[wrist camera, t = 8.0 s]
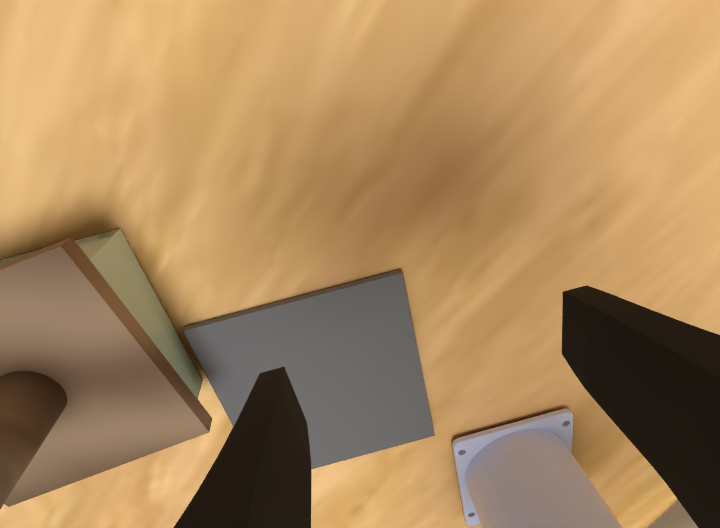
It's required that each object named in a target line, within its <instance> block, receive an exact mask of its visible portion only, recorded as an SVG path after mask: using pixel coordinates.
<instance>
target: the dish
mask: <svg viewBox="0 0 720 528" xmlns="http://www.w3.org/2000/svg"><path fill="white" fill-rule="evenodd" d="M75 241H76V243H77V244H78V245H79V247H80V248H81V249H82V250H83V252H84V253H85V254H86V256H87V257H88V258H89V260H90V261H91V262H92V263H93V265H94V266H95V267H96V269H97V270H98V271H99V272H100V274H101V275H102V276H103V278H104V279H105V280H106V282H107V283H108V284H109V285H110V287H111V288H112V289H113V291H114V292H115V293H116V294H117V296H118V297H119V298H120V300H121V301H122V302H123V304H124V305H125V306H126V307H127V309H128V310H129V311H130V313H131V314H132V315H133V317H134V318H135V319H136V320H137V322H138V323H139V324H140V326H141V327H142V328H143V329H144V331H145V332H146V333H147V335H148V336H149V337H150V339H151V340H152V341H153V342H154V344H155V345H156V346H157V348H158V349H159V350H160V351H161V353H162V354H163V355H164V357H165V358H166V359H167V361H168V362H169V363H170V364H171V366H172V367H173V368H174V370H175V371H176V372H177V373H178V375H179V376H180V377H181V379H182V380H183V381H184V383H185V384H186V385H187V386H188V388H189V389H190V390H191V392H192V393H193V394H194V396H195V397H196V398H197V399H198V395H199V392H200V388H201V385H202V381H203V380H202V378H201V377H200V375H199V373H198V371H197V369H196V367H195V366H194V364H193V362H192V360H191V358H190V356H189V354H188V353H187V351H186V349H185V347H184V345H183V343H182V342H181V340H180V338H179V336H178V334H177V332H176V330H175V329H174V327H173V325H172V323H171V321H170V319H169V318H168V316H167V314H166V312H165V310H164V308H163V307H162V305H161V303H160V301H159V299H158V297H157V295H156V294H155V292H154V290H153V288H152V286H151V284H150V283H149V281H148V279H147V277H146V275H145V273H144V271H143V270H142V268H141V266H140V264H139V262H138V260H137V259H136V257H135V255H134V253H133V251H132V249H131V248H130V246H129V244H128V242H127V240H126V238H125V236H124V235H123V233H122V231H121V229H117V230H113V231H109V232H105V233H101V234H97V235H94V236H90V237H86V238H82V239H78V240H75ZM39 250H40V249H39ZM36 251H37V250H36ZM32 252H35V251H32ZM32 252H28V253H24V254H20V255H16V256H12V257H9V258H5V259H1V260H0V265H2V264H4V263H7V262H9V261H12V260H14V259H17V258H19V257H22V256H24V255H27V254H30V253H32Z"/></svg>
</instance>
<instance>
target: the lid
mask: <svg viewBox="0 0 720 528" xmlns="http://www.w3.org/2000/svg"><path fill="white" fill-rule="evenodd" d="M211 422H212V418H211V416H210V415H209V414H208V412H207V411H206V410H205V408H204V407H203V406H202V405H201V403H200V402H199V401H198V399H197V398H196V397H195V396H194V394H193V393H192V392H191V390H190V389H189V388H188V386H187V385H186V384H185V383H184V381H183V380H182V379H181V377H180V376H179V375H178V373H177V372H176V371H175V370H174V368H173V367H172V366H171V364H170V363H169V362H168V361H167V359H166V358H165V357H164V355H163V354H162V353H161V351H160V350H159V349H158V348H157V346H156V345H155V344H154V342H153V341H152V340H151V339H150V337H149V336H148V335H147V333H146V332H145V331H144V329H143V328H142V327H141V326H140V324H139V323H138V322H137V320H136V319H135V318H134V317H133V315H132V314H131V313H130V311H129V310H128V309H127V307H126V306H125V305H124V304H123V302H122V301H121V300H120V298H119V297H118V296H117V294H116V293H115V292H114V291H113V289H112V288H111V287H110V285H109V284H108V283H107V282H106V280H105V279H104V278H103V276H102V275H101V274H100V272H99V271H98V270H97V269H96V267H95V266H94V265H93V263H92V262H91V261H90V260H89V258H88V257H87V256H86V254H85V253H84V252H83V250H82V249H81V248H80V247H79V245H78V244H77V243H76V241H75V240H74V239H73V237H70V238H67V239H65V240H62V241H60V242H57V243H55V244H52V245H50V246H47V247H45V248H42V249H40V250H37V251H35V252H32V253H30V254H27V255H24V256H22V257H19V258H17V259H14V260H12V261H9V262H7V263H4V264H2V265H0V509H1V507H2V506H3V504H5V505H7V506H8V507H9V506H12V505H15V504H18V503H20V502H23V501H26V500H28V499H31V498H34V497H36V496H39V495H42V494H44V493H47V492H50V491H52V490H55V489H58V488H61V487H63V486H66V485H69V484H71V483H74V482H77V481H79V480H82V479H85V478H87V477H90V476H93V475H96V474H98V473H101V472H104V471H106V470H109V469H112V468H114V467H117V466H120V465H122V464H125V463H128V462H130V461H133V460H136V459H139V458H141V457H144V456H147V455H149V454H152V453H155V452H157V451H160V450H163V449H165V448H168V447H171V446H174V445H176V444H179V443H182V442H184V441H187V440H190V439H192V438H195V437H198V436H200V435H203V434H206V433H208V432H209V431H210V426H211Z"/></svg>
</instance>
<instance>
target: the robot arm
mask: <svg viewBox="0 0 720 528" xmlns="http://www.w3.org/2000/svg"><path fill="white" fill-rule="evenodd" d="M562 355H563V356H564V358H565V359H566V361H567V362H568V364H569V365H570V367H571V369H572V370H573V372H574V373H575V375H576V376H577V378H578V379H579V380H580V382H581V383H582V385H583V386H584V388H585V389H586V390H587V391H588V392H589V394H590V395H591V396H592V397H593V398H594V400H595V401H596V402H597V403H598V404H599V405H600V407H601V408H602V409H603V410H604V411H605V412H606V414H607V415H608V416H609V417H610V418H611V419H612V420H613V422H614V423H615V424H616V425H617V426H618V427H619V428H620V430H621V431H622V432H623V433H624V434H625V435H626V436H627V438H628V439H629V440H630V441H631V442H632V443H633V444H634V446H635V447H636V448H637V449H638V450H639V451H640V453H641V454H642V455H643V456H644V457H645V458H646V459H647V461H648V462H649V463H650V464H651V465H652V466H653V468H654V469H655V470H656V471H657V473H658V474H659V475H660V476H661V477H662V479H663V480H664V481H665V482H666V484H667V485H668V486H669V488H670V489H671V490H672V492H673V493H674V495H675V496H676V497H677V499H678V500H679V501H680V503H681V504H682V506H683V507H684V508H685V510H686V511H687V512H688V514H689V515H690V517H691V518H692V519H693V521H694V522H695V523H696V525H697V526H698V528H720V335H718V334H715V333H712V332H709V331H706V330H703V329H701V328H698V327H695V326H692V325H689V324H687V323H684V322H681V321H679V320H676V319H673V318H671V317H668V316H665V315H663V314H660V313H658V312H655V311H652V310H650V309H647V308H645V307H642V306H640V305H637V304H635V303H632V302H629V301H627V300H624V299H622V298H619V297H617V296H614V295H611V294H609V293H606V292H604V291H601V290H598V289H595V288H592V287H589V286H583V287H579V288H575V289H572V290H568V291H564V292H563V320H562ZM572 437H573V414H572V412H571V411H570V410H569V409H561V410H557V411H554V412H550V413H546V414H543V415H539V416H535V417H532V418H528V419H524V420H521V421H517V422H513V423H510V424H506V425H503V426H499V427H495V428H492V429H488V430H484V431H481V432H477V433H473V434H470V435H466V436H462V437H459V438H456V439H455V440H454V441H453V442H452V448H453V454H454V460H455V466H456V472H457V478H458V483H459V489H460V495H461V501H462V507H463V513H464V519H465V522H466V524H467V525H468V526H475V525H479V524H481V526H482V528H623V527H622V526H621V524H620V523H619V521H618V520H617V518H616V517H615V516H614V514H613V513H612V511H611V510H610V508H609V507H608V505H607V504H606V502H605V501H604V500H603V498H602V497H601V495H600V494H599V492H598V491H597V489H596V488H595V486H594V485H593V484H592V482H591V481H590V479H589V478H588V476H587V475H586V473H585V472H584V470H583V469H582V468H581V466H580V465H579V463H578V462H577V460H576V459H575V457H574V456H573V454H572ZM174 528H311V454H310V444H309V435H308V426H307V421H306V419H305V416H304V414H303V411H302V409H301V407H300V404H299V402H298V399H297V397H296V394H295V392H294V389H293V387H292V384H291V382H290V379H289V377H288V375H287V372H286V370H285V367H281V368H277V369H273V370H269V371H266V372H262V373H260V374H259V376H258V377H257V380H256V382H255V384H254V386H253V388H252V390H251V392H250V394H249V396H248V399H247V401H246V403H245V405H244V407H243V409H242V411H241V413H240V415H239V417H238V419H237V421H236V423H235V425H234V427H233V429H232V431H231V432H230V434H229V436H228V438H227V440H226V442H225V444H224V446H223V448H222V450H221V451H220V453H219V455H218V457H217V459H216V460H215V462H214V464H213V465H212V467H211V469H210V471H209V472H208V474H207V476H206V477H205V479H204V481H203V483H202V484H201V486H200V488H199V489H198V491H197V493H196V494H195V496H194V497H193V499H192V500H191V502H190V504H189V505H188V507H187V508H186V510H185V511H184V513H183V514H182V516H181V517H180V519H179V520H178V522H177V523H176V525H175V526H174Z"/></svg>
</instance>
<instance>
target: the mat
mask: <svg viewBox="0 0 720 528" xmlns="http://www.w3.org/2000/svg"><path fill="white" fill-rule="evenodd" d="M183 333H184V335H185V336H186V338H187V340H188V342H189V344H190V346H191V348H192V350H193V351H194V353H195V355H196V357H197V359H198V361H199V363H200V365H201V366H202V368H203V370H204V372H205V374H206V376H207V378H208V380H209V381H210V383H211V385H212V387H213V389H214V391H215V393H216V395H217V397H218V398H219V400H220V402H221V404H222V406H223V408H224V410H225V412H226V413H227V415H228V417H229V419H230V421H231V423H232V425H233V427H234V425H235V423H236V421H237V419H238V417H239V415H240V413H241V411H242V409H243V407H244V405H245V403H246V401H247V399H248V396H249V394H250V392H251V390H252V388H253V386H254V384H255V382H256V380H257V377H258V376H259V374H260V373H262V372H266V371H269V370H273V369H277V368H281V367H285V370H286V372H287V375H288V377H289V379H290V382H291V384H292V387H293V389H294V392H295V394H296V397H297V399H298V402H299V404H300V407H301V409H302V411H303V414H304V416H305V419H306V421H307V426H308V435H309V444H310V454H311V469H314V468H318V467H321V466H325V465H329V464H332V463H336V462H340V461H343V460H347V459H351V458H354V457H358V456H362V455H365V454H369V453H373V452H376V451H380V450H383V449H387V448H391V447H394V446H398V445H402V444H405V443H409V442H413V441H416V440H420V439H424V438H427V437H431V436H435V435H434V430H433V425H432V420H431V415H430V410H429V405H428V400H427V394H426V389H425V384H424V379H423V374H422V369H421V364H420V359H419V354H418V349H417V344H416V339H415V334H414V329H413V324H412V319H411V313H410V308H409V303H408V298H407V293H406V288H405V283H404V278H403V273H402V271H401V269H399V270H395V271H392V272H388V273H384V274H380V275H377V276H373V277H369V278H365V279H361V280H358V281H354V282H350V283H346V284H343V285H339V286H335V287H331V288H327V289H324V290H320V291H316V292H312V293H309V294H305V295H301V296H297V297H293V298H290V299H286V300H282V301H278V302H274V303H271V304H267V305H263V306H259V307H256V308H252V309H248V310H244V311H240V312H237V313H233V314H229V315H225V316H222V317H218V318H214V319H210V320H206V321H203V322H199V323H195V324H191V325H188V326H184V329H183Z"/></svg>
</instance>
